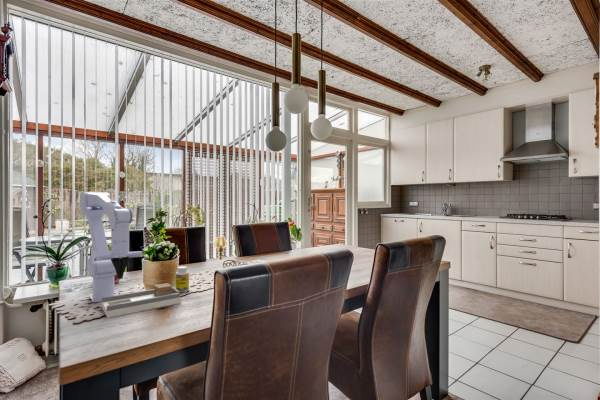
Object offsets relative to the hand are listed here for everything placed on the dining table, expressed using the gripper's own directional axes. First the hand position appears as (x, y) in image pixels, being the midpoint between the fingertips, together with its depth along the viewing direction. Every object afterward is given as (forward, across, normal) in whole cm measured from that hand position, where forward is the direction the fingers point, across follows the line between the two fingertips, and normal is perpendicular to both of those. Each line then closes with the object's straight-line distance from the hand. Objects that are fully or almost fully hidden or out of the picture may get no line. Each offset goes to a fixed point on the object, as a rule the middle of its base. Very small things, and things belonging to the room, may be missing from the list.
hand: (120, 278), depth 112 cm
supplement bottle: (+11, +25, +7) cm, 28 cm away
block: (+8, +14, -2) cm, 17 cm away
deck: (+10, +7, -2) cm, 13 cm away
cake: (+10, +2, +40) cm, 41 cm away
